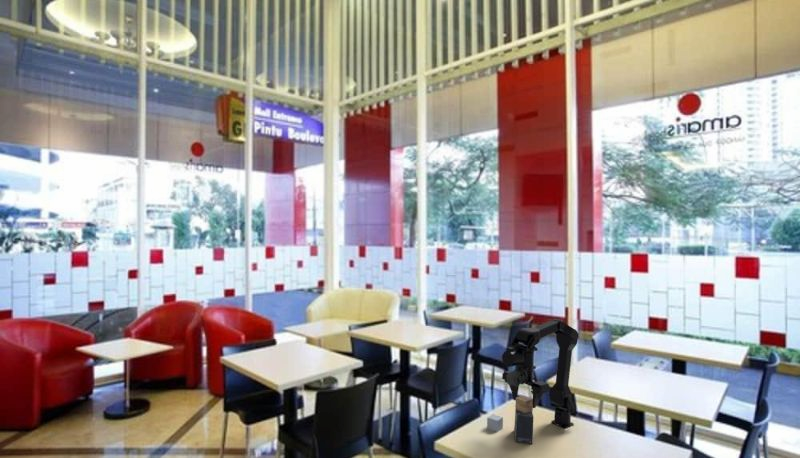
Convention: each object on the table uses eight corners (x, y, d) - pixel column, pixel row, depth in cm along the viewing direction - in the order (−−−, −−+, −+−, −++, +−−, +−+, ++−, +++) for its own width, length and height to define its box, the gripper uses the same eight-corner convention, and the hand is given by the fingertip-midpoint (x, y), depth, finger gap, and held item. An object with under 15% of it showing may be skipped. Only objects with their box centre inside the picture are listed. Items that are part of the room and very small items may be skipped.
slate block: (492, 425, 180) (492, 414, 180) (502, 428, 177) (503, 417, 177) (486, 428, 176) (487, 417, 176) (497, 432, 173) (497, 420, 173)
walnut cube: (523, 406, 173) (523, 395, 173) (532, 410, 169) (533, 399, 169) (515, 409, 170) (515, 397, 170) (524, 413, 166) (525, 401, 167)
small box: (533, 445, 164) (534, 416, 164) (515, 442, 165) (516, 414, 165) (530, 432, 174) (531, 405, 174) (513, 430, 175) (514, 403, 175)
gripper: (493, 359, 173) (491, 399, 173) (531, 373, 157) (529, 417, 157) (512, 355, 179) (511, 394, 179) (551, 368, 164) (550, 410, 164)
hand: (524, 403), depth 170 cm, fingers open, 9 cm apart
